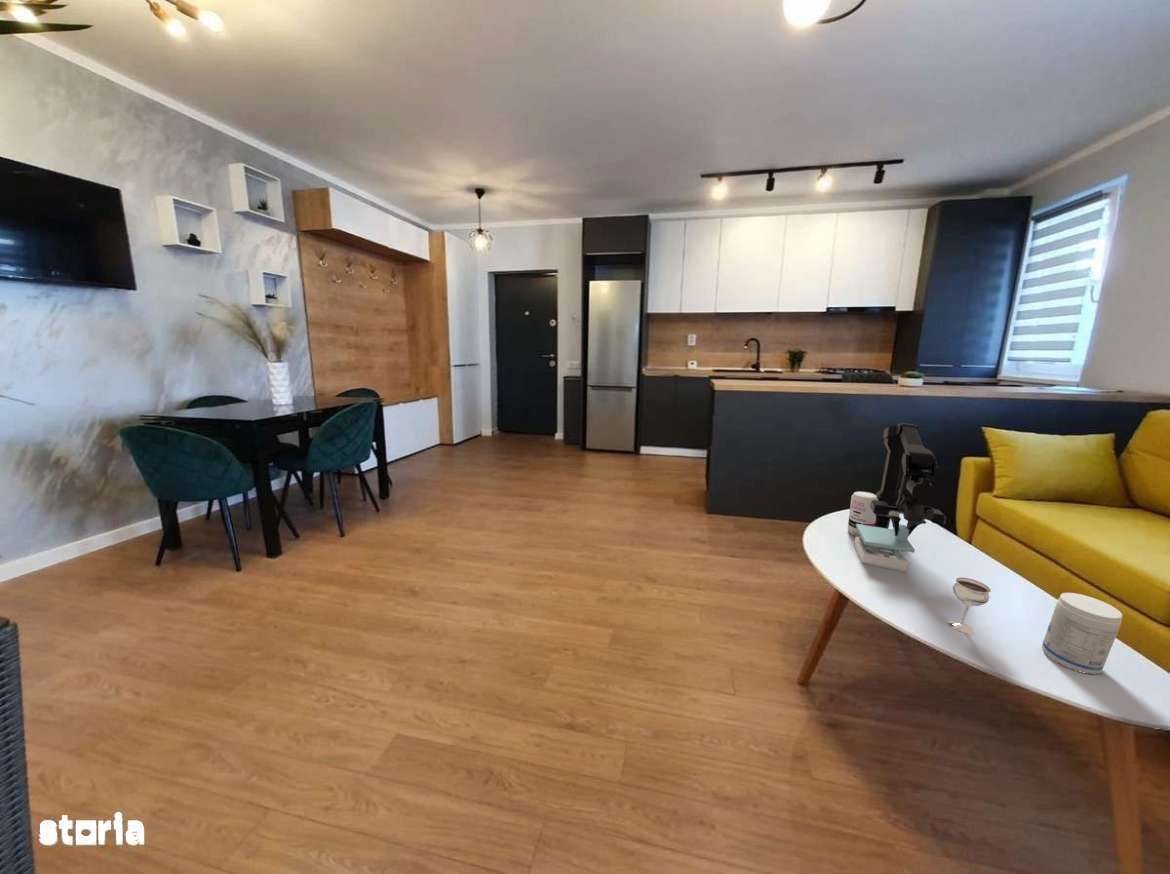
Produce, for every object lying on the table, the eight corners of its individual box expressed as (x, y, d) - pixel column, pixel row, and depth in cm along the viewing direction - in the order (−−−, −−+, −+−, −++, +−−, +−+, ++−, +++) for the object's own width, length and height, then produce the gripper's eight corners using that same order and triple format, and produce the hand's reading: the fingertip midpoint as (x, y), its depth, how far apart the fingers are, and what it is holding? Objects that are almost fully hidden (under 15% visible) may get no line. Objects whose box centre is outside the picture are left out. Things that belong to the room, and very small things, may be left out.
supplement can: (873, 531, 161) (878, 493, 158) (873, 540, 154) (878, 500, 151) (847, 527, 165) (852, 489, 162) (846, 535, 158) (851, 496, 155)
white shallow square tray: (853, 545, 151) (855, 536, 150) (894, 553, 146) (896, 543, 146) (861, 563, 139) (864, 553, 138) (906, 572, 135) (908, 562, 134)
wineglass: (937, 617, 113) (948, 576, 110) (963, 618, 113) (975, 577, 110) (957, 635, 107) (970, 592, 104) (986, 636, 106) (999, 593, 104)
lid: (855, 528, 150) (858, 512, 148) (900, 535, 145) (903, 519, 144) (864, 546, 137) (867, 529, 136) (913, 555, 132) (917, 537, 131)
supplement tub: (1043, 639, 106) (1061, 586, 103) (1102, 663, 99) (1124, 606, 96) (1038, 657, 100) (1057, 601, 97) (1100, 683, 93) (1124, 624, 90)
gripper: (883, 494, 131) (872, 541, 135) (959, 505, 125) (946, 554, 128) (874, 482, 141) (864, 527, 145) (944, 492, 135) (932, 538, 138)
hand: (900, 536), depth 139 cm, fingers closed on lid, 2 cm apart
